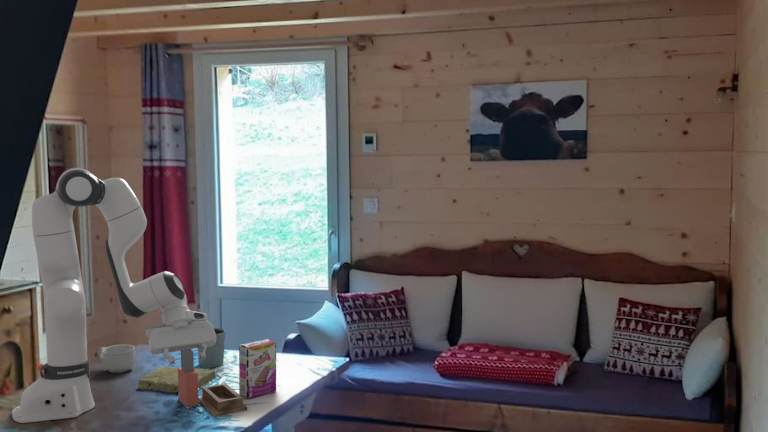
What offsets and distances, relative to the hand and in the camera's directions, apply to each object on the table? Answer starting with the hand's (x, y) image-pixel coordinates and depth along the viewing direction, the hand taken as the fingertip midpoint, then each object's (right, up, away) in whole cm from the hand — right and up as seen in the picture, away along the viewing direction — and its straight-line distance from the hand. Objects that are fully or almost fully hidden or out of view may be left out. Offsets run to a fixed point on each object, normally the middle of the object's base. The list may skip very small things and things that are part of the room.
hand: (187, 360), depth 231 cm
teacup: (-34, -10, +36) cm, 51 cm away
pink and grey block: (0, -13, +2) cm, 13 cm away
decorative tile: (-9, -12, +21) cm, 26 cm away
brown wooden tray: (+11, -13, -1) cm, 17 cm away
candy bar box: (+20, -12, +9) cm, 25 cm away
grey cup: (-2, -10, +43) cm, 44 cm away
